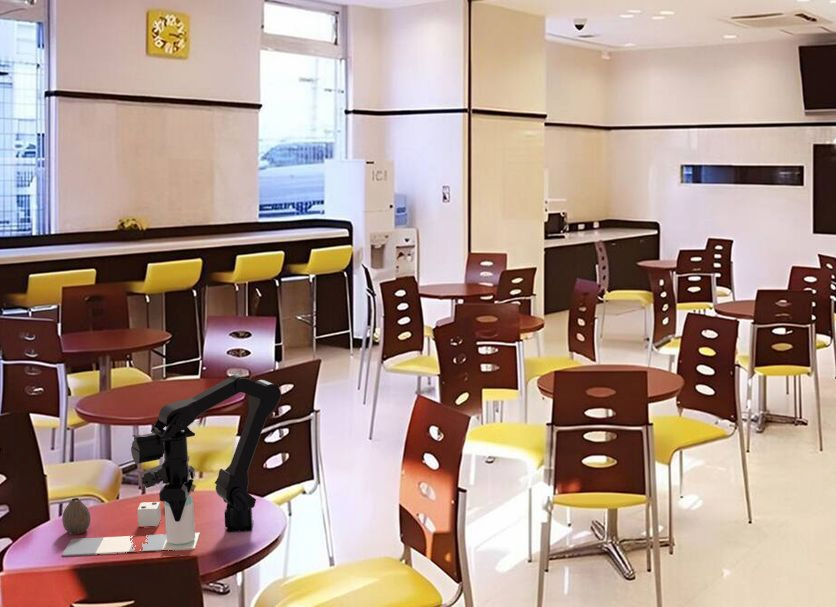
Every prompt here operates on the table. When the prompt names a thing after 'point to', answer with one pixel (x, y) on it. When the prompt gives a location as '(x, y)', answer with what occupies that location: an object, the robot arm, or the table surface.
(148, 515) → the die
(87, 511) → the vase
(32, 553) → the table surface
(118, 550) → the board
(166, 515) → the can
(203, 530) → the table surface
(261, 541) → the table surface
